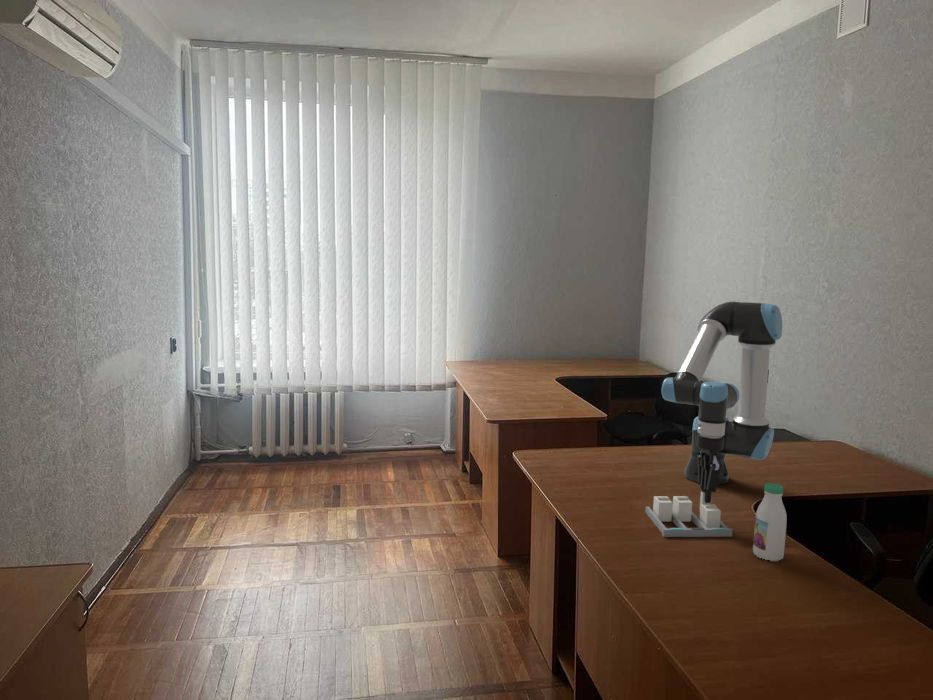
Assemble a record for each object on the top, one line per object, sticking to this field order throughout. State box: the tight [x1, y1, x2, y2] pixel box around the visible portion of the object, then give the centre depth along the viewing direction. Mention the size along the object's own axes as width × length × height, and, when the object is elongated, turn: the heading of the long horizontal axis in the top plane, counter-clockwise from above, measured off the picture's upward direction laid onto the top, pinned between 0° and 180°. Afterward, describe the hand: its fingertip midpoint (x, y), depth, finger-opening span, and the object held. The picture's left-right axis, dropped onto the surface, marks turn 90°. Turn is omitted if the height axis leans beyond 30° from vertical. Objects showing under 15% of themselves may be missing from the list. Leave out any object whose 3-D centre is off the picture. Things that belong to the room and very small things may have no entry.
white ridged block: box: [672, 495, 693, 523], centre depth 202 cm, size 4×5×7 cm
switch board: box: [645, 506, 734, 538], centre depth 199 cm, size 20×18×4 cm
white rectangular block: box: [699, 503, 722, 528], centre depth 196 cm, size 4×5×7 cm
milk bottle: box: [752, 482, 788, 562], centre depth 181 cm, size 8×8×20 cm
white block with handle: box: [652, 495, 673, 523], centre depth 202 cm, size 4×5×7 cm
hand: (704, 511), depth 199 cm, fingers closed
